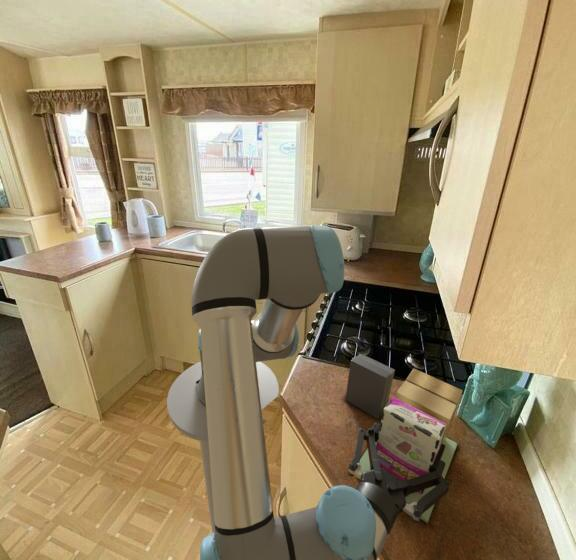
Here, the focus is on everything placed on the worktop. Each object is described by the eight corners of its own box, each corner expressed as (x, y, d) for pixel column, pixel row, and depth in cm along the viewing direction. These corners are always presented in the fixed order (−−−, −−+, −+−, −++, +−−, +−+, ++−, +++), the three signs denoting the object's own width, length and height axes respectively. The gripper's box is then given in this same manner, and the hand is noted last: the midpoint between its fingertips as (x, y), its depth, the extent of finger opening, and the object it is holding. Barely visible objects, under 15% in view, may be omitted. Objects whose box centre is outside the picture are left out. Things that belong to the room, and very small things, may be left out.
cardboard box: (385, 442, 75) (396, 392, 69) (401, 415, 83) (413, 368, 76) (432, 471, 69) (450, 419, 62) (445, 439, 76) (462, 390, 70)
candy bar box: (430, 477, 67) (448, 423, 60) (422, 496, 64) (440, 441, 57) (381, 447, 74) (392, 394, 67) (371, 462, 70) (382, 408, 63)
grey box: (345, 399, 88) (350, 360, 82) (354, 388, 92) (360, 350, 86) (378, 419, 83) (386, 378, 77) (387, 406, 86) (395, 366, 81)
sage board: (353, 470, 70) (354, 468, 69) (393, 410, 85) (394, 408, 85) (427, 523, 61) (428, 521, 60) (456, 445, 76) (457, 443, 76)
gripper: (310, 485, 61) (362, 416, 76) (434, 588, 48) (468, 478, 63) (312, 460, 58) (366, 393, 73) (446, 562, 44) (479, 453, 60)
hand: (413, 432), depth 68 cm, fingers closed on candy bar box, 11 cm apart
